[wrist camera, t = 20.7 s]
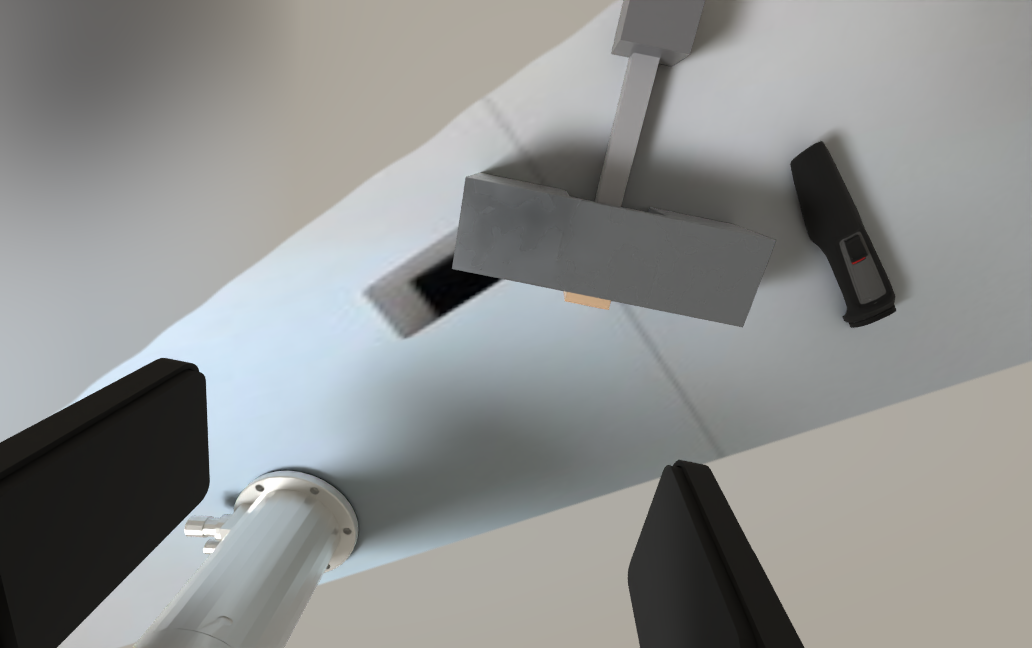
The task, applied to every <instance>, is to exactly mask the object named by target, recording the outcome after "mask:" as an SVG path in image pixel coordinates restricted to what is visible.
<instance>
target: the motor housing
mask: <svg viewBox="0 0 1032 648" xmlns="http://www.w3.org/2000/svg"><path fill="white" fill-rule="evenodd" d="M775 242H776V240H775V239H772V238H769V237H767V236H764V235H761V234H759V233H756V232H753V231H751V230H748V229H745V228H743V227H740V226H737V225H735V224H730V223H725V222H720V221H716V220H711V219H706V218H701V217H696V216H691V215H686V214H681V213H676V212H671V211H666V210H662V209H657V208H652V207H649V210H648V212H644V211H639V210H634V209H629V208H624V207H619V206H614V205H609V204H605V203H600V202H595V201H590V200H585V199H580V198H575V197H570V196H569V195H568V193H567V191H566V190H563V189H558V188H554V187H549V186H544V185H539V184H534V183H529V182H524V181H519V180H514V179H509V178H504V177H500V176H495V175H490V174H485V173H478V174H474V175H471V176H467V177H466V179H465V186H464V193H463V199H462V206H461V213H460V220H459V226H458V233H457V240H456V247H455V253H454V260H453V267H452V269H456V270H461V271H466V272H471V273H476V274H481V275H486V276H491V277H496V278H501V279H506V280H511V281H516V282H521V283H526V284H531V285H536V286H541V287H546V288H551V289H555V290H560V291H565V292H570V293H575V294H580V295H585V296H590V297H595V298H600V299H605V300H610V301H615V302H620V303H625V304H630V305H635V306H640V307H645V308H650V309H655V310H660V311H665V312H670V313H675V314H680V315H685V316H690V317H695V318H699V319H704V320H709V321H714V322H719V323H724V324H729V325H734V326H739V327H743V326H744V323H745V321H746V318H747V315H748V313H749V310H750V307H751V305H752V302H753V300H754V297H755V294H756V292H757V289H758V287H759V284H760V281H761V279H762V276H763V273H764V271H765V268H766V266H767V263H768V260H769V258H770V255H771V253H772V250H773V247H774V245H775Z"/></svg>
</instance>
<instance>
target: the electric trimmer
mask: <svg viewBox="0 0 1032 648" xmlns="http://www.w3.org/2000/svg"><path fill="white" fill-rule="evenodd" d="M790 165H791V170H792V175H793V180H794V184H795V188H796V191H797V195H798V199H799V202H800V206H801V210H802V214H803V217H804V221H805V225H806V228H807V231H808V234H809V237H810V239H811V240H812V241H813V242H814V243H815V244H817V245H818V246H819V247H820V248H821V249H822V251H823V252H824V254H825V255H826V257H827V259H828V261H829V263H830V265H831V267H832V270H833V272H834V275H835V277H836V279H837V282H838V284H839V286H840V289H841V291H842V294H843V297H844V299H845V302H846V305H847V312H846V314H845V316H843V319H844V321H845V322H848V323H849V325H850V327H851V328H854V327H860V326H865V325H868V324H871V323H873V322H875V321H878V320H880V319H882V318H884V317H886V316H889V315H890V314H892V313H894V312H895V311H896V308H895V305H894V300H895V293H894V291H893V289H892V286H891V284H890V281H889V279H888V277H887V274H886V272H885V270H884V268H883V266H882V264H881V262H880V260H879V257H878V255H877V253H876V251H875V249H874V247H873V245H872V243H871V240H870V238H869V236H868V234H867V232H866V230H865V228H864V226H863V224H862V221H861V218H860V215H859V213H858V210H857V208H856V206H855V204H854V202H853V200H852V198H851V196H850V194H849V192H848V190H847V187H846V185H845V183H844V181H843V179H842V177H841V175H840V173H839V171H838V169H837V167H836V165H835V163H834V161H833V159H832V157H831V155H830V153H829V151H828V149H827V148H826V146H825V145H824V143H823V142H822V141H820V142H818V143H816V144H814V145H812V146H811V147H809V148H808V149H806V150H805V151H803V152H802V153H801V154H799V155H798V156H797V157H795V158H794V159H793V160H792V161H791V163H790ZM854 322H855V323H854Z"/></svg>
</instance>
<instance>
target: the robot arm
mask: <svg viewBox="0 0 1032 648" xmlns="http://www.w3.org/2000/svg"><path fill="white" fill-rule="evenodd" d="M209 483H210V477H209V451H208V426H207V400H206V380H205V376H204V374H202V373H201V372H199V369H198V367H197V366H196V365H195V364H193V363H188V362H183V361H178V360H173V359H168V358H160V359H157V360H155V361H153V362H151V363H150V364H148V365H146V366H144V367H142V368H140V369H138V370H136V371H134V372H133V373H131V374H129V375H127V376H125V377H123V378H121V379H119V380H117V381H116V382H114V383H112V384H110V385H108V386H106V387H104V388H102V389H101V390H99V391H97V392H95V393H93V394H91V395H89V396H87V397H85V398H84V399H82V400H80V401H78V402H76V403H74V404H72V405H70V406H68V407H67V408H65V409H63V410H61V411H59V412H57V413H55V414H53V415H52V416H50V417H48V418H46V419H44V420H42V421H40V422H38V423H37V424H35V425H33V426H31V427H29V428H27V429H25V430H23V431H21V432H20V433H18V434H16V435H14V436H12V437H10V438H8V439H6V440H5V441H3V442H1V443H0V648H57V647H58V646H59V645H60V644H61V643H62V642H63V641H64V640H65V639H66V638H67V637H68V636H69V635H70V634H71V633H72V632H73V631H74V630H75V629H76V628H77V627H78V626H79V625H80V624H81V623H82V622H83V621H84V620H85V619H86V618H87V617H88V616H89V615H90V614H91V613H92V612H93V611H94V610H95V609H96V608H97V606H98V605H99V604H100V603H101V602H102V601H103V600H104V599H105V598H106V597H107V596H108V595H109V594H110V593H111V592H112V591H113V590H114V589H115V588H116V587H117V586H118V585H119V584H120V583H121V582H122V581H123V580H124V579H125V578H126V577H127V576H128V575H129V574H130V573H131V572H132V571H133V570H134V569H135V568H136V567H137V566H138V565H139V564H140V563H141V562H142V561H143V560H144V559H145V558H146V557H147V556H148V555H149V554H150V553H151V552H152V551H153V550H154V549H155V548H156V547H157V546H158V545H159V544H160V543H161V542H162V541H163V540H164V539H165V538H166V537H167V536H168V535H169V534H170V533H171V532H172V531H173V530H174V529H175V528H176V527H177V526H178V525H179V524H180V523H181V522H182V521H183V520H184V518H185V517H186V516H187V515H188V514H189V513H190V512H191V511H192V510H193V509H194V508H195V507H196V506H197V505H198V504H199V503H200V502H201V501H202V500H203V499H204V497H205V495H206V493H207V491H208V488H209ZM184 531H185V535H186V536H189V537H208V536H209V537H215V539H209V540H208V541H207V542H206V544H205V546H204V553H205V554H210V555H209V556H208V557H207V559H206V560H205V561H204V562H203V563H202V565H201V566H200V567H199V568H198V569H197V571H196V572H195V573H194V574H193V575H192V577H191V578H190V579H189V580H188V581H187V583H186V584H185V585H184V586H183V587H182V589H181V590H180V591H179V592H178V593H177V595H176V596H175V597H174V598H173V599H172V600H171V602H170V603H169V604H168V605H167V606H166V608H165V609H164V610H163V611H162V612H161V614H160V615H159V616H158V617H157V618H156V620H155V621H154V622H153V623H152V624H151V626H150V627H149V628H148V629H147V630H146V632H145V633H144V634H143V635H142V636H141V638H140V639H139V640H138V641H137V642H136V644H135V645H134V646H133V647H132V648H284V647H285V645H286V644H287V642H288V640H289V638H290V636H291V634H292V632H293V630H294V628H295V626H296V624H297V623H298V621H299V619H300V617H301V615H302V613H303V611H304V609H305V608H306V606H307V604H308V602H309V600H310V598H311V596H312V594H313V592H314V590H315V589H316V587H317V585H318V583H319V581H320V579H321V577H322V575H323V573H325V572H328V571H331V570H333V569H335V568H337V567H338V566H340V565H342V564H343V563H344V562H345V561H346V560H347V559H348V557H349V556H350V554H351V553H352V551H353V549H354V546H355V544H356V542H357V538H358V533H359V531H358V521H357V518H356V514H355V512H354V510H353V508H352V506H351V505H350V503H349V502H348V501H347V499H346V498H345V497H344V496H343V495H342V494H341V493H340V492H339V491H338V490H337V489H336V488H335V487H333V486H332V485H330V484H328V483H327V482H325V481H324V480H322V479H319V478H317V477H315V476H313V475H309V474H306V473H302V472H296V471H276V472H271V473H267V474H264V475H262V476H260V477H257V478H256V479H255V480H253V481H252V482H251V483H249V484H248V486H247V487H246V488H245V489H244V490H243V491H242V492H241V494H240V495H239V497H238V498H237V500H236V503H235V506H234V513H233V514H225V515H223V516H222V517H220V518H214V517H212V516H196V515H194V516H191V517H190V518H189V519H188V521H187V523H186V525H185V529H184ZM628 586H629V591H630V596H631V602H632V607H633V612H634V618H635V623H636V628H637V633H638V638H639V644H640V648H804V646H803V644H802V642H801V640H800V638H799V637H798V635H797V633H796V631H795V629H794V627H793V625H792V623H791V621H790V619H789V617H788V616H787V614H786V612H785V610H784V608H783V607H782V604H781V602H780V600H779V598H778V596H777V595H776V593H775V591H774V589H773V587H772V585H771V583H770V581H769V579H768V578H767V575H766V574H765V572H764V570H763V568H762V566H761V564H760V562H759V560H758V558H757V556H756V554H755V553H754V551H753V550H752V548H751V546H750V544H749V542H748V541H747V539H746V536H745V534H744V532H743V531H742V529H741V527H740V525H739V523H738V521H737V519H736V517H735V516H734V513H733V511H732V510H731V508H730V506H729V504H728V502H727V500H726V498H725V496H724V494H723V492H722V491H721V489H720V487H719V485H718V483H717V481H716V479H715V477H714V475H713V473H712V471H711V469H710V468H709V467H708V466H706V465H703V464H698V463H692V462H687V461H682V460H678V461H676V462H675V463H674V465H673V466H670V465H667V466H666V467H665V468H664V470H663V473H662V476H661V478H660V481H659V484H658V487H657V490H656V492H655V495H654V498H653V501H652V503H651V506H650V509H649V512H648V515H647V517H646V520H645V523H644V526H643V528H642V531H641V534H640V537H639V539H638V542H637V545H636V548H635V551H634V553H633V556H632V559H631V562H630V565H629V569H628Z"/></svg>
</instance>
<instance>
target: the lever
mask: <svg viewBox="0 0 1032 648" xmlns="http://www.w3.org/2000/svg"><path fill="white" fill-rule="evenodd" d="M704 3H705V0H623V4H622V9H621V13H620V18H619V22H618V26H617V31H616V35H615V39H614V44H613V48H612V52H611V54H614V55H619V56H624V57H629V61H628V65H627V69H626V73H625V77H624V81H623V85H622V90H621V94H620V98H619V102H618V106H617V110H616V114H615V118H614V123H613V127H612V131H611V135H610V139H609V143H608V147H607V151H606V156H605V160H604V164H603V168H602V172H601V176H600V180H599V185H598V189H597V193H596V197H595V202H600V203H605V204H609V205H614V206H619V207H621V205H622V201H623V197H624V193H625V190H626V186H627V182H628V178H629V174H630V171H631V167H632V163H633V159H634V155H635V151H636V148H637V144H638V140H639V136H640V132H641V129H642V125H643V121H644V117H645V113H646V109H647V106H648V102H649V98H650V94H651V90H652V87H653V83H654V79H655V75H656V71H657V67H658V64H663V65H667V66H674V65H675V64H677V63H678V62H680V61H681V60H682V59H684V58H685V57H687V56H688V55H690V53H691V49H692V46H693V42H694V39H695V35H696V31H697V28H698V24H699V21H700V17H701V14H702V10H703V6H704ZM564 299H565V301H567V302H572V303H577V304H581V305H586V306H591V307H596V308H601V309H606V310H609V306H610V303H611V301H610V300H605V299H600V298H595V297H590V296H585V295H580V294H575V293H570V292H565V291H564Z"/></svg>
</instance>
